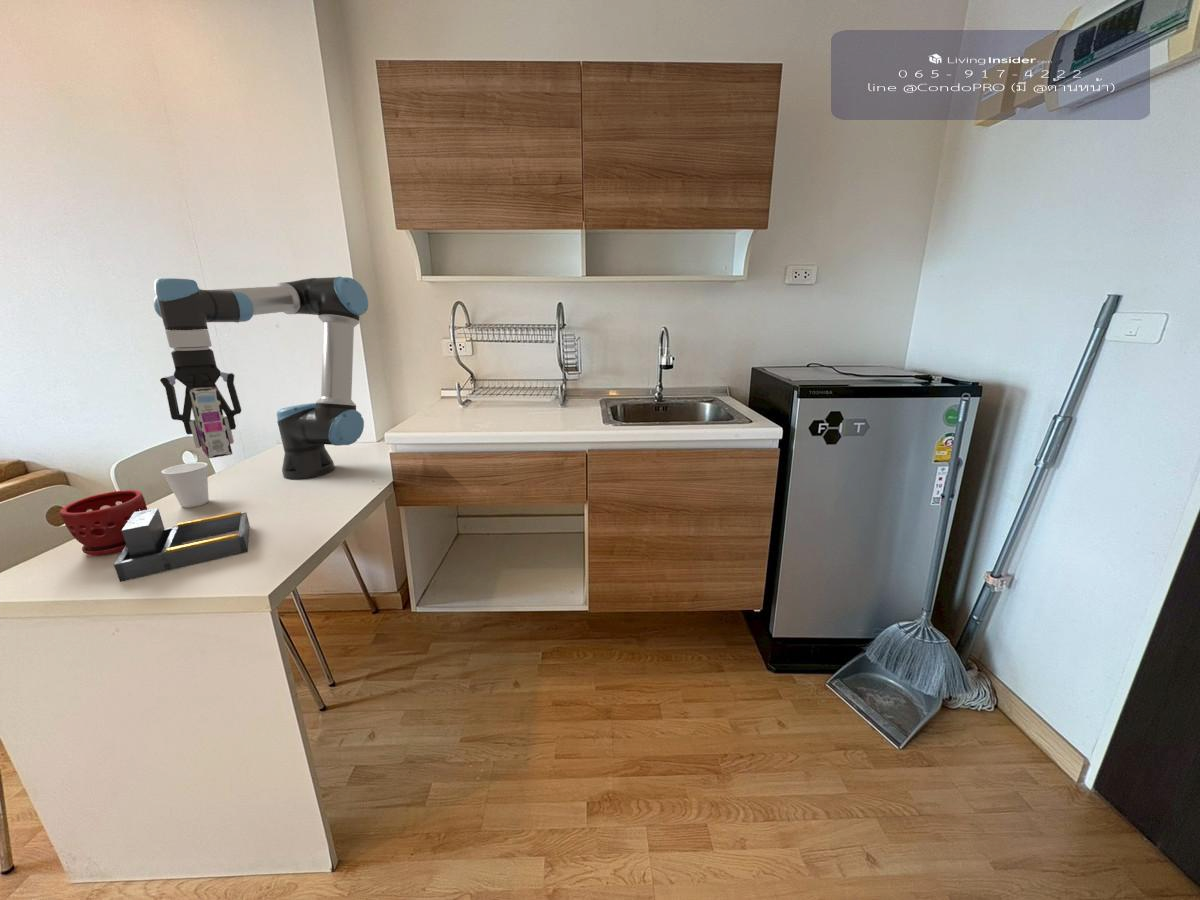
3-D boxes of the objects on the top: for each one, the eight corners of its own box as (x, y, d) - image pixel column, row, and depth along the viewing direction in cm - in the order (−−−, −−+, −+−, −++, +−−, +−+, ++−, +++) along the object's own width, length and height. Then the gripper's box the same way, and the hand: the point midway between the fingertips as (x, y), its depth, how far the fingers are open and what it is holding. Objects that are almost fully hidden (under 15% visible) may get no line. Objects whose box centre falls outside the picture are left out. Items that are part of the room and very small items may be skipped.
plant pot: (91, 542, 111) (75, 496, 107) (163, 530, 117) (150, 485, 113) (65, 567, 100) (45, 516, 96) (146, 552, 106) (130, 504, 102)
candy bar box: (234, 454, 113) (217, 387, 108) (208, 459, 110) (190, 390, 105) (226, 446, 121) (210, 383, 116) (201, 450, 117) (184, 385, 113)
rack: (249, 526, 118) (240, 490, 115) (247, 552, 105) (237, 511, 102) (137, 550, 107) (124, 510, 104) (119, 582, 94) (104, 537, 91)
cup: (191, 512, 127) (180, 474, 124) (162, 509, 129) (151, 472, 126) (226, 498, 136) (216, 463, 133) (198, 496, 138) (189, 461, 135)
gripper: (242, 346, 116) (261, 436, 122) (141, 349, 106) (168, 447, 112) (240, 348, 110) (261, 442, 116) (133, 351, 100) (162, 454, 106)
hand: (215, 444), depth 114 cm, fingers closed on candy bar box, 6 cm apart
